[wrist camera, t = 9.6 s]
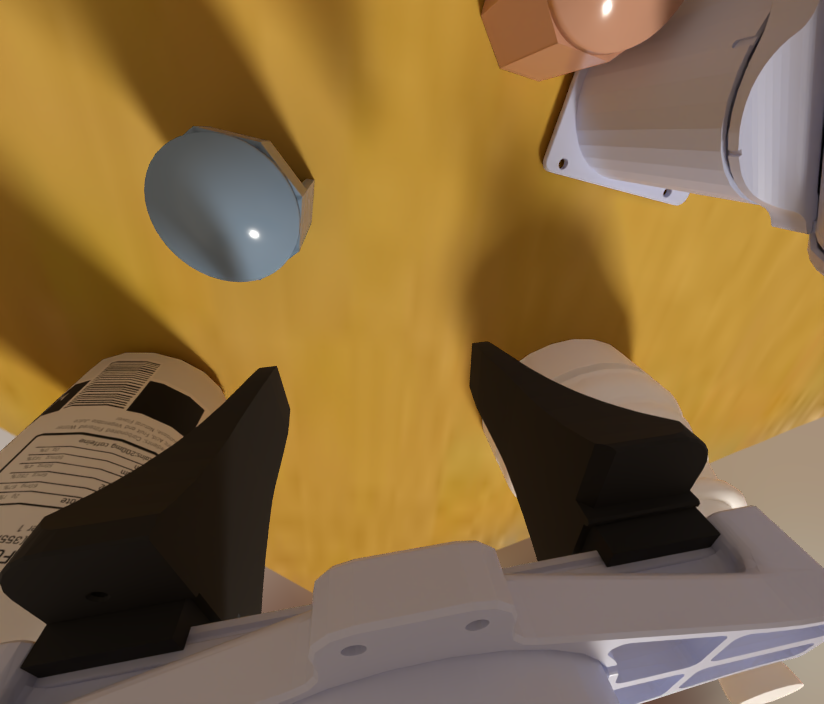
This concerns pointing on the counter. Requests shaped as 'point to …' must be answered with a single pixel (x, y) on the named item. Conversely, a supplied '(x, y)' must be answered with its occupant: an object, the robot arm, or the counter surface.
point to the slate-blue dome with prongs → (227, 203)
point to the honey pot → (634, 389)
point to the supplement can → (93, 447)
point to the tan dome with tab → (569, 32)
